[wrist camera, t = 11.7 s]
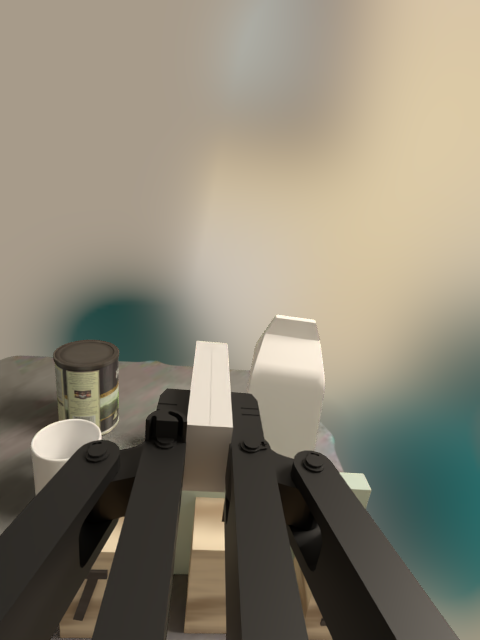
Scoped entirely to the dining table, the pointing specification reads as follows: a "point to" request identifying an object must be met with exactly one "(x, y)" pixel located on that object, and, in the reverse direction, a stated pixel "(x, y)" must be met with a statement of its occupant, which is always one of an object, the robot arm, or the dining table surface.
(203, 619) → the plain block
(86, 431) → the mug
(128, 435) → the dining table surface
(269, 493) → the robot arm
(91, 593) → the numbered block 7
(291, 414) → the milk
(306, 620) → the numbered block 1
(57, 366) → the coffee can
